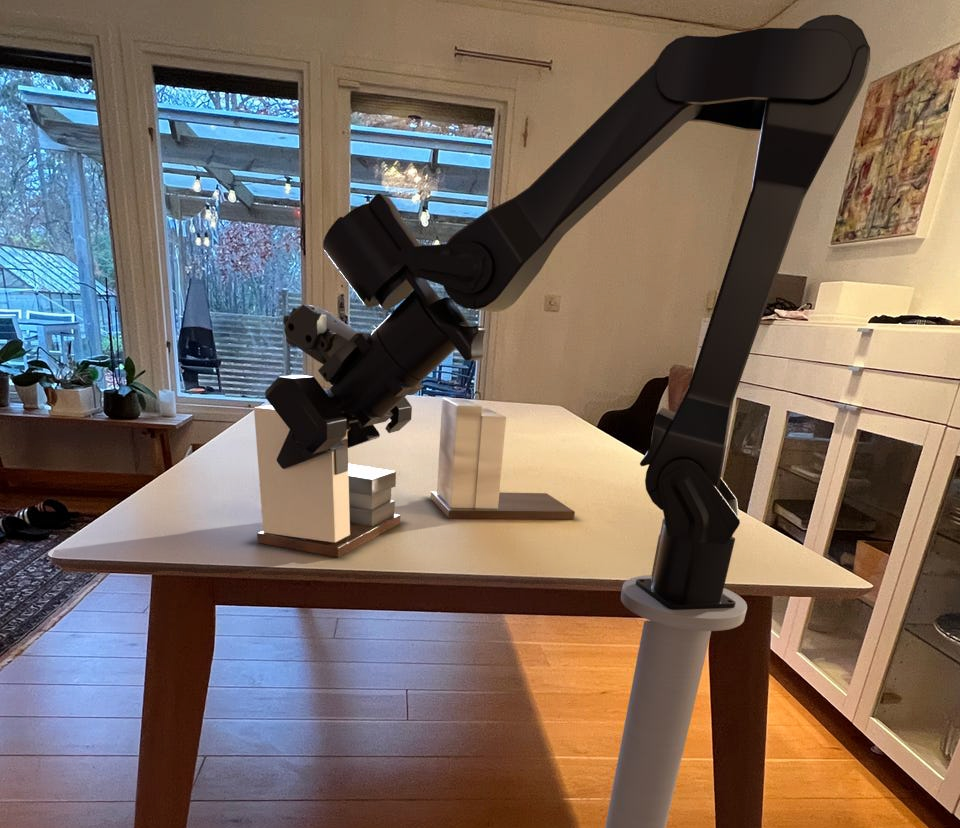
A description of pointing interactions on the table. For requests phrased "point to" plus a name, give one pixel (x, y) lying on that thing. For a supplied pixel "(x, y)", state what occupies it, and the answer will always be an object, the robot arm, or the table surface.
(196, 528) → the table surface
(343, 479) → the white book
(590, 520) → the table surface
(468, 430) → the brown and white bookend
